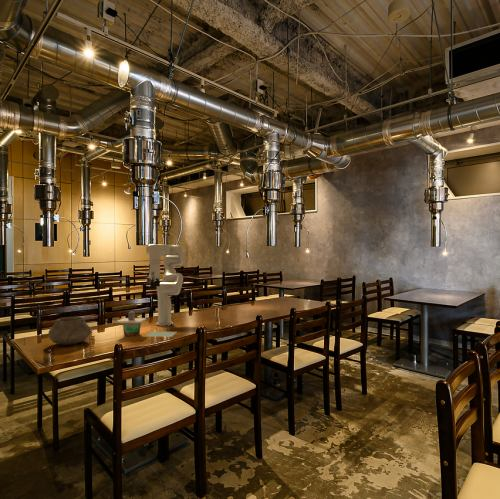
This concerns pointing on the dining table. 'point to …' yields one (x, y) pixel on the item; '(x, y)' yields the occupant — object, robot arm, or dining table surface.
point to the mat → (161, 334)
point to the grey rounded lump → (69, 331)
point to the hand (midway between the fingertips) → (155, 287)
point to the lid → (131, 318)
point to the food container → (131, 329)
